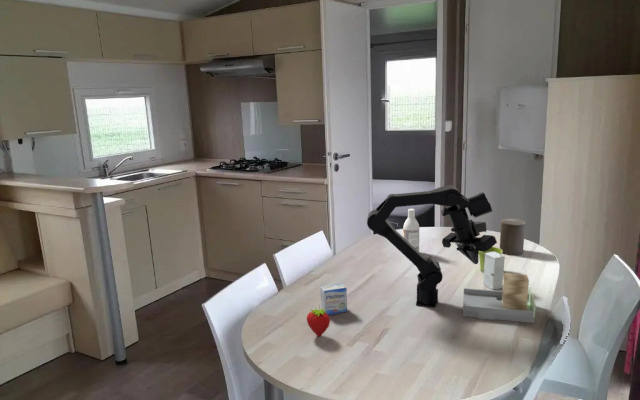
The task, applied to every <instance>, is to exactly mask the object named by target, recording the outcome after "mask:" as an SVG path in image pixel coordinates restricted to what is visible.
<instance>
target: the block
mask: <svg viewBox="0 0 640 400" xmlns="http://www.w3.org/2000/svg"><path fill="white" fill-rule="evenodd" d="M529 281H530V280H529V276H528V274H523V273H522V274H521V273H511V272H510V273H509V272H503V283H502V291H503V295H502V305H503V308H506V309H516V310H526V311H527V300H528V293H529V287H530V286H529V284H530V283H529Z"/></svg>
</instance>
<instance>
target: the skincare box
mask: <svg viewBox="0 0 640 400" xmlns="http://www.w3.org/2000/svg"><path fill="white" fill-rule="evenodd" d="M505 258H506V257H505V256H503V255H502V254H501V255H500V254H498V253H496V252H488V253H485V262H484V272H483V279H482V284H483V285H484V286H486V287H487V288H489V289H490V290H498V289H503V278H504V269H505Z"/></svg>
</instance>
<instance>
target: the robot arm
mask: <svg viewBox="0 0 640 400" xmlns="http://www.w3.org/2000/svg"><path fill="white" fill-rule="evenodd" d="M422 205H437V206H441V207H442V206H443V208H442V210H441V211H440V212H441V213H440V214H441V216H442V217H445V216H448V217H449V220H450V223H451V226H452V227H451V229H450V231H451V232H449V233H448V234H446V236H444V237H443V238H442V240H441V245H442V246H443V247H444V248H448V249H449V248H451V246H452V243H455V245H456V251H459V253H461V254H462V255H463V256H465V258H467V259H468V260H469V261H471V263H472V264H474V265H478V264H479V251H488V250H489V249H490V248H491V247H495V245H496V244H497V243H498V241H497V238H496V237H495V235H492V234H491V235H490V234H483V235H481V236H480V233H487V232H488V231H487V230H488V229H487V222H486V221H473V219H470V218H469V216H470V217H472V216H473V217H474V218H478V217H481V216H484V215H487V214H489V213H492V212H493V209H492V205H491V203H490V202H489V200H488V198H487V196H486V193H485V192H484V191H482V192H479V193H478V194H476V195H473V196H470V197H466V195H463V194H462V193H461V192H460V191H459V189H457V187H455V186H454V185H451V184H448V185H447V184H446V185H444V186H439V187H437V188H434V189H432V190H428V191H427V190H426V191H417V192H416V191H414V192H405V193H390V194H387V196H386V198H385V199H383V201H382V202H381V203H380V204H379V205H378V206H377V207H376V209H373V210H370V211H369V212H368V215H367V220H366V224H367V227H368V228H369V229H370V230H371V231H372V232H373V233H375V234H376V235H378V236H380V237H383V238H384V239H386V240H388V242H389V243H390V244H391V245H393V246H394V247H395V249H397V250H398V251H399V252H400V253H401V254H402V255H404V257H406V258H407V259H408V260H409V261H410V262H411V264H413V265H414V266H415V267H416V268H417V270H418V271H419V273H418V274H416V277H417V284H416V300H415V301H416V302H415V305H416V306H420V307H430V308H431V307H432V308H435V307H436V306H437V304H438V302H439V289H438V288H437V286H438V284H440V283H441V282H442V281H443V273H442V268H441V266H440V262H439V261H436V259H434V258H433V256H432V255H431V254H430V255H429V256H428V257H427V256H425V255H423V254H422V253H420V251H419V252H418V251H417V250H416V249H415V248H414V247H413V246H412V245H411V244H410V243H409V242H408V241H407V240H406V239H405V238H404V237H403V235H401V234H400V233H399V232H398V231H397V229H395V228H394V227H393V225H392V223H391V222H390V220H389V219H388V218H389V217H390V216H391V214H392V213H393V211H394V210H395V209H396V208H402V207H412V206H422ZM466 209H467V210H466ZM467 212H468V213H467ZM468 214H469V215H468ZM479 236H480V237H479Z"/></svg>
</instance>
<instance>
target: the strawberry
mask: <svg viewBox="0 0 640 400" xmlns="http://www.w3.org/2000/svg"><path fill="white" fill-rule="evenodd" d="M323 310H324V309H321V305H319V307H318V308H314V309H310V312H309V313H308V314H307V317H306V322H307V325H308V326H309V328H310V329H311V331H312V332H313V333H314V334H315V335H316V337H321V336H322V335H323V334H324V333H325V332H326V330H327V329H328V328H329V327H330V323H331V319H330V315H327V314H326V313H327V312H325V311H323Z"/></svg>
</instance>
